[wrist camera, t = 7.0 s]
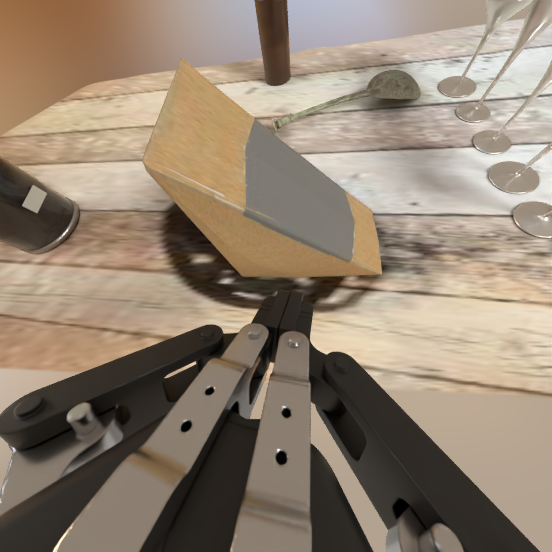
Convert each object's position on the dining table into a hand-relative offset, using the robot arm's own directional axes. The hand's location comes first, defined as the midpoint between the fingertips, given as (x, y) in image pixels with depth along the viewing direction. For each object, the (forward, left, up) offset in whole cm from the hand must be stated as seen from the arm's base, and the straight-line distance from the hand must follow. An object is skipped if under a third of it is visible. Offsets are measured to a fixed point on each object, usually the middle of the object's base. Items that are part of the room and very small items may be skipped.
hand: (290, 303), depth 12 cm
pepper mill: (-10, +41, -8) cm, 43 cm away
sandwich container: (0, +9, -8) cm, 12 cm away
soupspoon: (+2, +32, -8) cm, 33 cm away
